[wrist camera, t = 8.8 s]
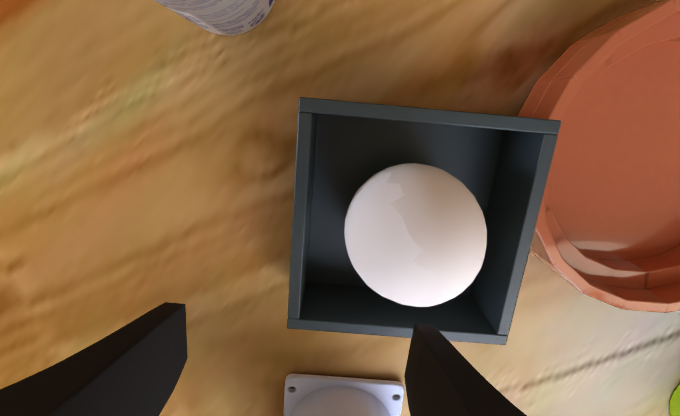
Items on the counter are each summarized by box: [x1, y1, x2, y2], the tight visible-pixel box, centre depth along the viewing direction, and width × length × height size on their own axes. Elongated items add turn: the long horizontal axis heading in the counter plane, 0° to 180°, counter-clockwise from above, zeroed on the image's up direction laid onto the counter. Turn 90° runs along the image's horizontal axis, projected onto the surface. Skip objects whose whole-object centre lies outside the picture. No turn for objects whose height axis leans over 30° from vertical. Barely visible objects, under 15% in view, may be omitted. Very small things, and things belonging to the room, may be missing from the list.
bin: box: [287, 97, 561, 345], centre depth 18 cm, size 11×11×4 cm
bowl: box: [518, 0, 680, 313], centre depth 18 cm, size 15×15×4 cm
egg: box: [344, 163, 487, 307], centre depth 16 cm, size 6×6×8 cm
